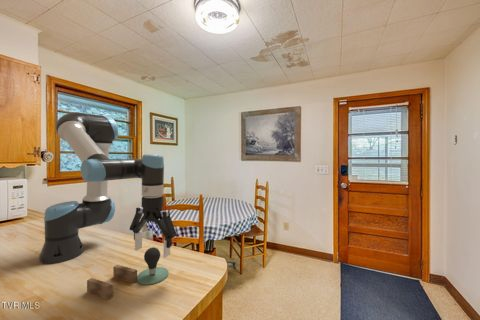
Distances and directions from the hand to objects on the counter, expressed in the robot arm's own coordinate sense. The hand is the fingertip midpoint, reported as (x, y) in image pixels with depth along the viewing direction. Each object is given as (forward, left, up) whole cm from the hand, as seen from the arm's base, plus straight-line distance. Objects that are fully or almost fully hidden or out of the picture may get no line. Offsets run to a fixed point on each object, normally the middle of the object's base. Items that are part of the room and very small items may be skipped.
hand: (152, 252), depth 80 cm
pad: (0, 0, -9) cm, 9 cm away
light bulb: (0, 0, -8) cm, 8 cm away
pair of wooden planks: (-8, -10, -9) cm, 15 cm away
